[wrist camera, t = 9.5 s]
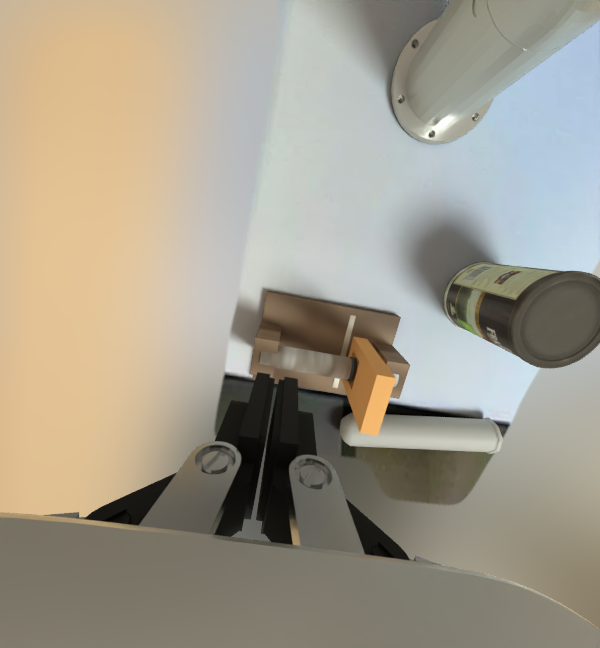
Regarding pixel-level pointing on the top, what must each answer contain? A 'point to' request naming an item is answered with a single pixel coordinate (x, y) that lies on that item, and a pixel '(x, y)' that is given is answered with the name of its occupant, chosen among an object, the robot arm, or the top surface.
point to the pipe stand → (321, 342)
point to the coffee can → (528, 311)
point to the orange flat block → (369, 387)
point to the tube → (426, 433)
